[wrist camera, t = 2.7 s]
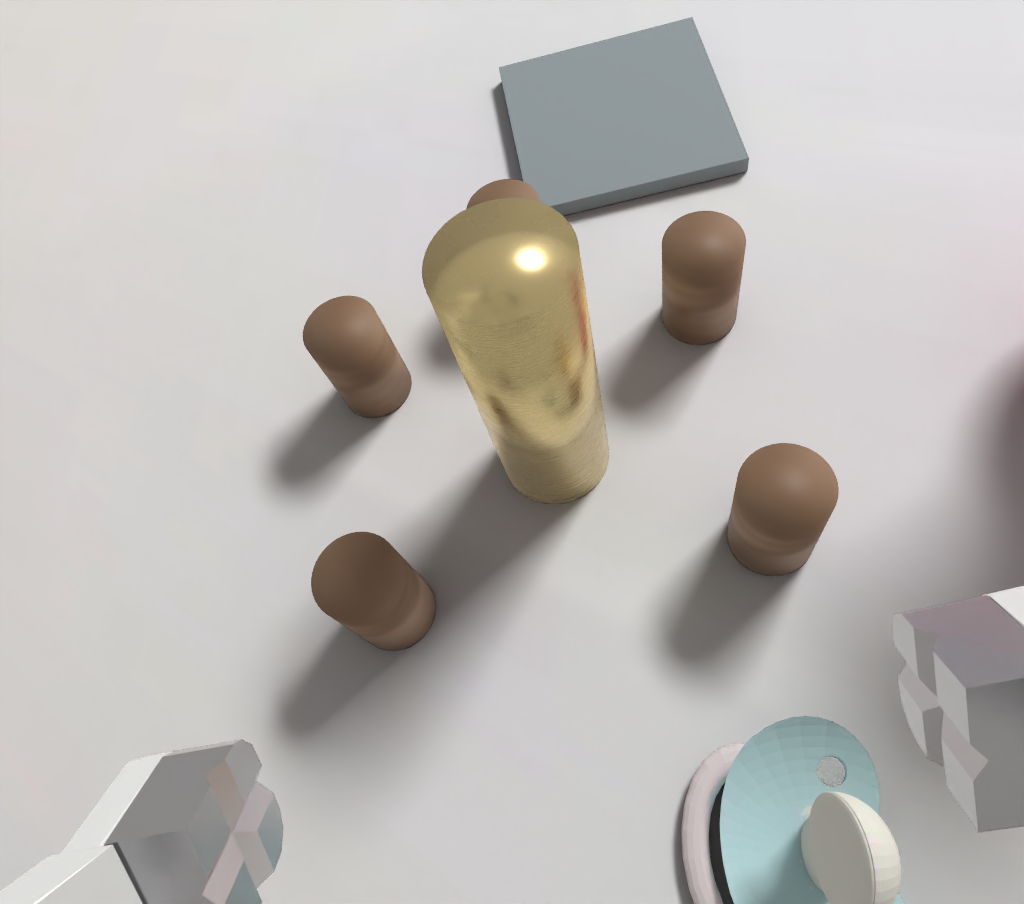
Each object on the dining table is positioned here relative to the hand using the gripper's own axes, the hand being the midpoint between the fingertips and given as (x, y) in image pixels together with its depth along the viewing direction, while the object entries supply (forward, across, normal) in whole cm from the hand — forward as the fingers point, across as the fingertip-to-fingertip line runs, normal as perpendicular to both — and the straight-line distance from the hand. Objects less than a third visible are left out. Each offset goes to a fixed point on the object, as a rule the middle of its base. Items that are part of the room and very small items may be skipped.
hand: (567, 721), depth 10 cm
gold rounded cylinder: (+22, +1, +4) cm, 22 cm away
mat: (+34, -5, -8) cm, 35 cm away
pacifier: (+11, -4, +15) cm, 19 cm away
